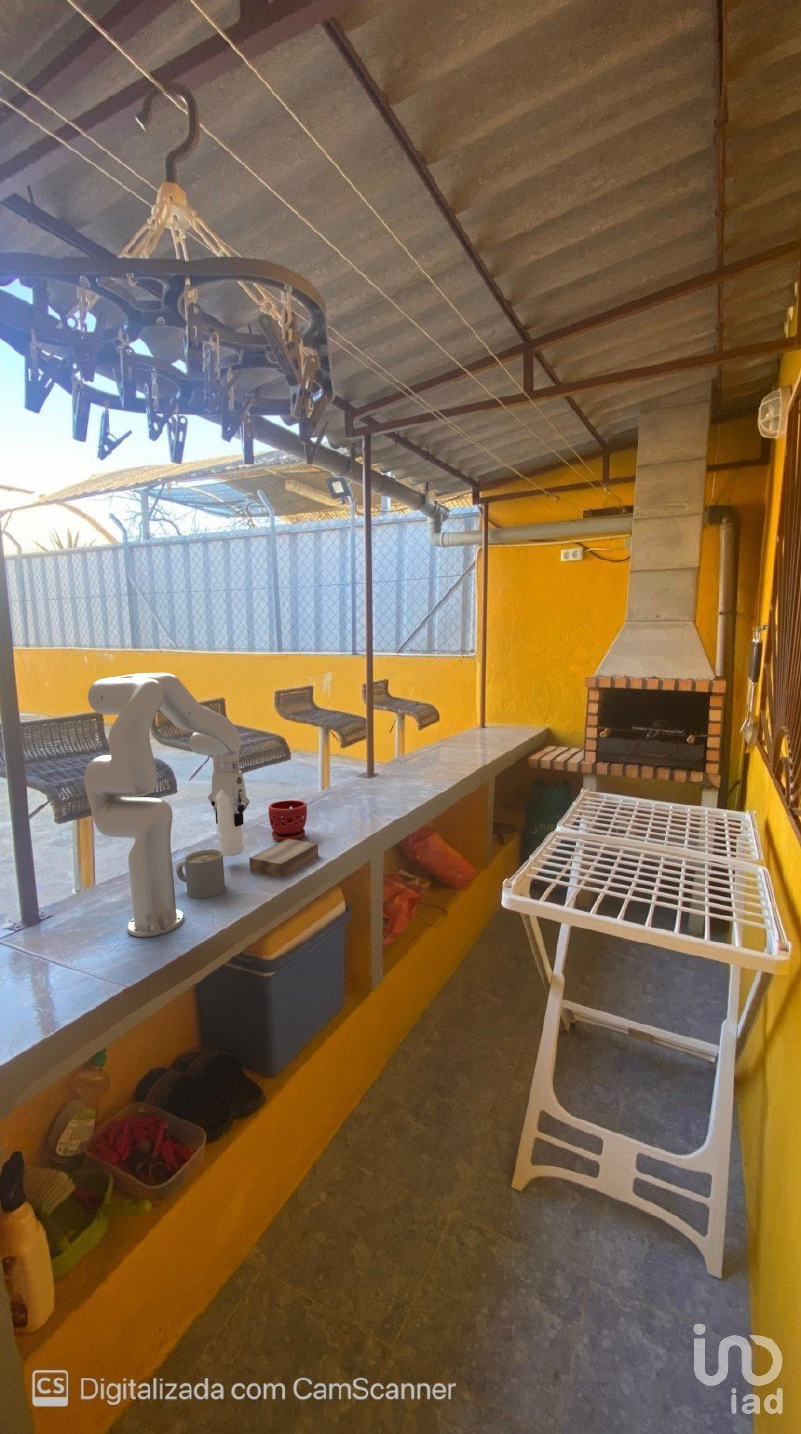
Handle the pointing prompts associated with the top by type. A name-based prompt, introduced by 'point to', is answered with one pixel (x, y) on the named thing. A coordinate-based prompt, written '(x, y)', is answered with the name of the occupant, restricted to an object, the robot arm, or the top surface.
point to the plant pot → (288, 819)
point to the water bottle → (228, 827)
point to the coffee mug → (203, 873)
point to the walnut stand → (283, 857)
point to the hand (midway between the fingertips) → (229, 823)
